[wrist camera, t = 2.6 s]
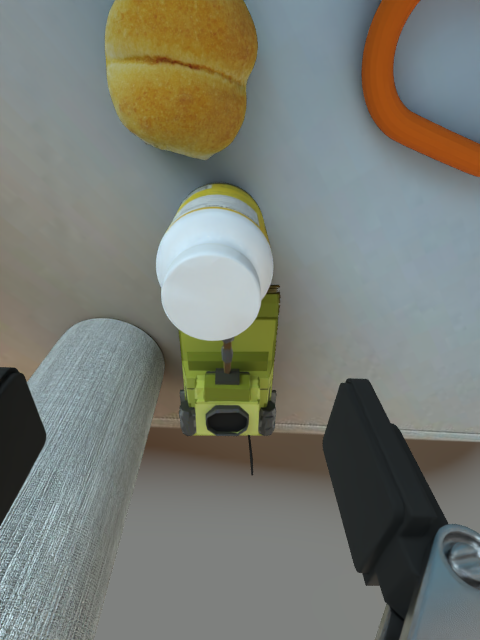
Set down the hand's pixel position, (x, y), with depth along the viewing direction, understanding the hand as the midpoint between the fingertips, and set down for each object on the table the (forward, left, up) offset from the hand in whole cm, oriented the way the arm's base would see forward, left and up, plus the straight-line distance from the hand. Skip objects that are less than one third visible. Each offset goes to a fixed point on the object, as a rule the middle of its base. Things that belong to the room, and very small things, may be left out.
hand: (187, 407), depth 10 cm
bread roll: (+2, -9, -18) cm, 20 cm away
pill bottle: (0, 0, -18) cm, 18 cm away
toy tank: (-2, +11, -18) cm, 21 cm away
